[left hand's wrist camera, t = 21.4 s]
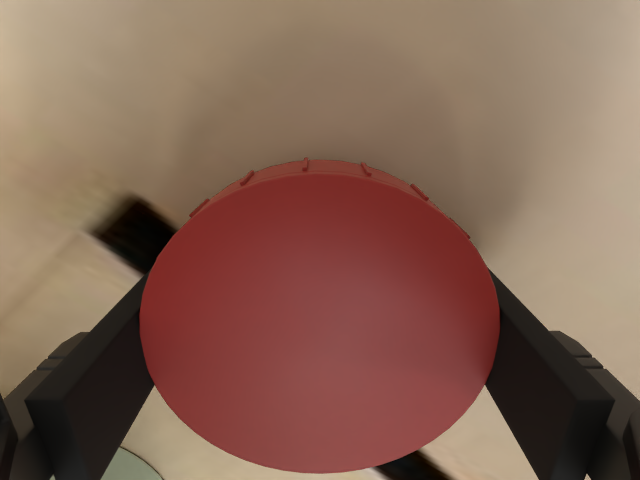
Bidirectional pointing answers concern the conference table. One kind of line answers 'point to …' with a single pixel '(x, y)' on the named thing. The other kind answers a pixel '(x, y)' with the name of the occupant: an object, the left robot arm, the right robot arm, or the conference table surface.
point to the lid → (319, 318)
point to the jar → (128, 468)
